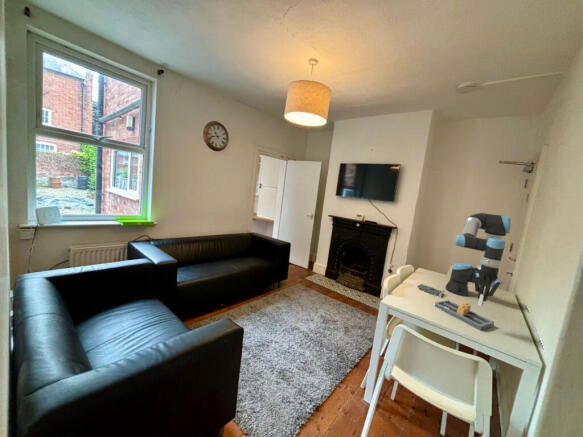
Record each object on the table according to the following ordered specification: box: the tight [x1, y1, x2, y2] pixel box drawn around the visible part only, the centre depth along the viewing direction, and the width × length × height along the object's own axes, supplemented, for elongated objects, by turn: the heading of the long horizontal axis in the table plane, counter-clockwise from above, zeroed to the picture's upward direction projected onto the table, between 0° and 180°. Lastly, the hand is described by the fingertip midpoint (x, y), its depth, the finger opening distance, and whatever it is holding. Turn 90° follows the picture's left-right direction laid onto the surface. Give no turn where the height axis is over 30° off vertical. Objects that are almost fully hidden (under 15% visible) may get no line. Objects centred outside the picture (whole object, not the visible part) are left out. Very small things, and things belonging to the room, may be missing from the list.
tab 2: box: [460, 302, 472, 312], centre depth 143 cm, size 4×3×5 cm
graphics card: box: [416, 283, 445, 299], centre depth 176 cm, size 17×4×12 cm
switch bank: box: [434, 299, 495, 331], centre depth 142 cm, size 14×26×3 cm, turn 25°
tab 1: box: [457, 305, 468, 316], centre depth 139 cm, size 4×3×5 cm
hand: (480, 305), depth 130 cm, fingers closed
